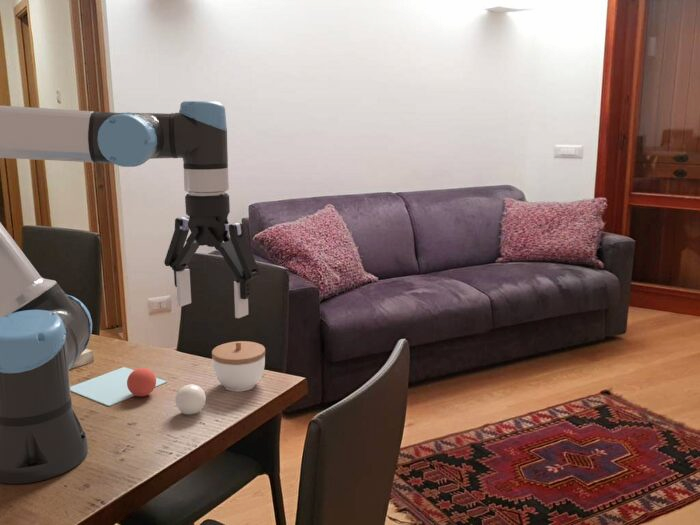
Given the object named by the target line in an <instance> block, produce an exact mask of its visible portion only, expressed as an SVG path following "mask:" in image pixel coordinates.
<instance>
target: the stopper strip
mask: <svg viewBox="0 0 700 525" xmlns="http://www.w3.org/2000/svg"><path fill="white" fill-rule="evenodd" d="M93 362H95V361H94V350H92V349H89V348H86V349H85V350H84V351H83V352H82V354H81V355H80V356H79V357H78V358H77V360H76V361H75V362H74V364H73V365H72V367H71V368H70V370H72V369H74V368H78V367H80V366H84V365H86V364H89V363H93Z"/></svg>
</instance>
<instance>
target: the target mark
mask: <svg viewBox="0 0 700 525" xmlns="http://www.w3.org/2000/svg"><path fill="white" fill-rule="evenodd" d="M134 370H135V369H131V368H129V367H127V366H123V367H120V368H118V369H115V370H113V371H110V372H107V373H104V374H101V375H99V376H96V377H93V378H91V379H88V380H85V381H82V382H79V383H78V384H74V385H70V392H71V393H74V394H77V395H79V396H82V397H84V398H86V399H90V400H92V401H94V402H97V403H99V404H102V405H103V406H106V407H112V406H114V405H116V404H119V403H122V402H123V401H125V400H128V399H131V398H133V397H137V396H136V395H134V394H132V393H131V392H130V391H129V389H128V387H127V379H128V377H129V375H130V374H131V373H132V372H133V371H134ZM167 383H168V381H167V380H164V379H161V378H158V377H156V386H155V388H157V387H160V386H161V385H164V384H167Z"/></svg>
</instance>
